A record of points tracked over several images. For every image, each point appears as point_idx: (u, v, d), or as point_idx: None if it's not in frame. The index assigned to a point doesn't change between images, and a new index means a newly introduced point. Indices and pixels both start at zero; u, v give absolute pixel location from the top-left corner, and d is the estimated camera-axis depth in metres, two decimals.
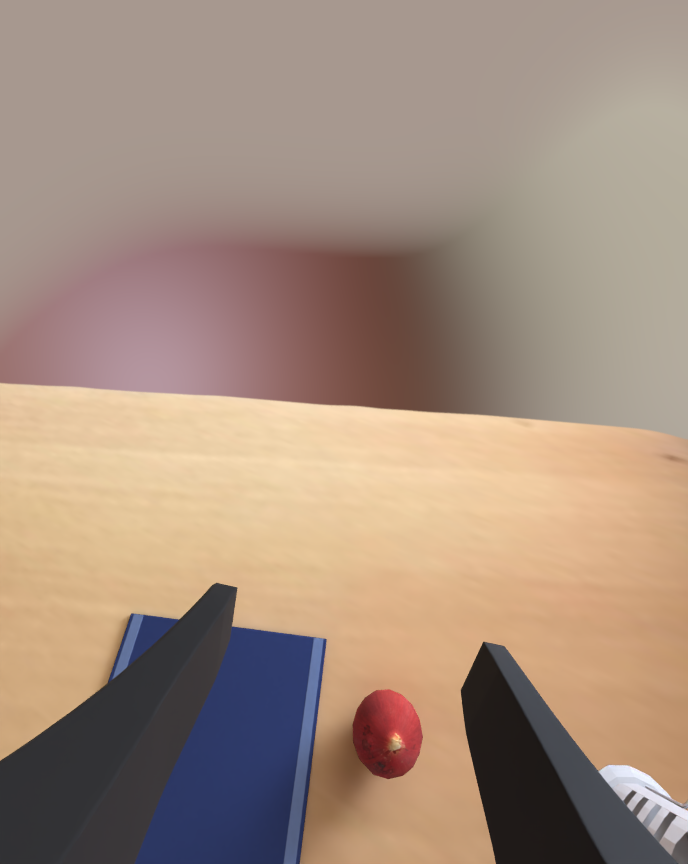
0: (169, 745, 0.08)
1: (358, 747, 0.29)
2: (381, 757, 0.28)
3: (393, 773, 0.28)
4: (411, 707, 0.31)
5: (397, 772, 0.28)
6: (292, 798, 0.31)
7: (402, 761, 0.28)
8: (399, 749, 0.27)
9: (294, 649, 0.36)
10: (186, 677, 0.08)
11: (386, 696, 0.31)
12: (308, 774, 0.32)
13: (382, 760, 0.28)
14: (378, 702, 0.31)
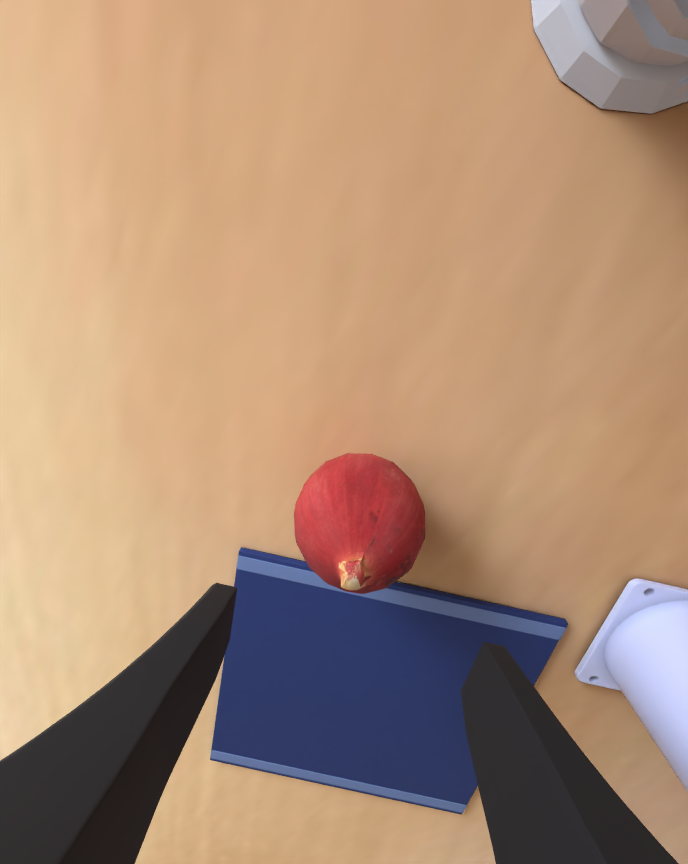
0: (169, 745, 0.08)
1: None
2: (377, 587, 0.14)
3: (411, 551, 0.14)
4: (319, 483, 0.15)
5: (411, 546, 0.14)
6: (433, 612, 0.22)
7: (390, 550, 0.13)
8: (361, 578, 0.12)
9: (253, 594, 0.22)
10: (186, 677, 0.08)
11: (296, 528, 0.15)
12: (411, 591, 0.22)
13: (383, 583, 0.14)
14: (301, 551, 0.15)
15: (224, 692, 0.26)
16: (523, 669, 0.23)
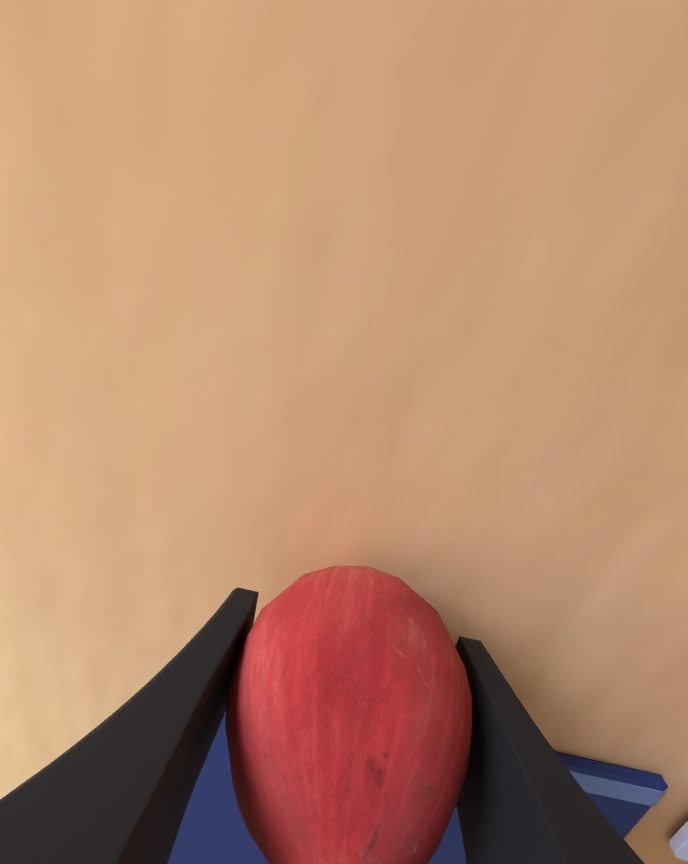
0: (197, 751, 0.08)
1: None
2: None
3: (453, 808, 0.07)
4: (268, 656, 0.08)
5: (452, 805, 0.07)
6: None
7: (412, 849, 0.06)
8: None
9: None
10: (215, 683, 0.08)
11: None
12: None
13: None
14: None
15: None
16: None
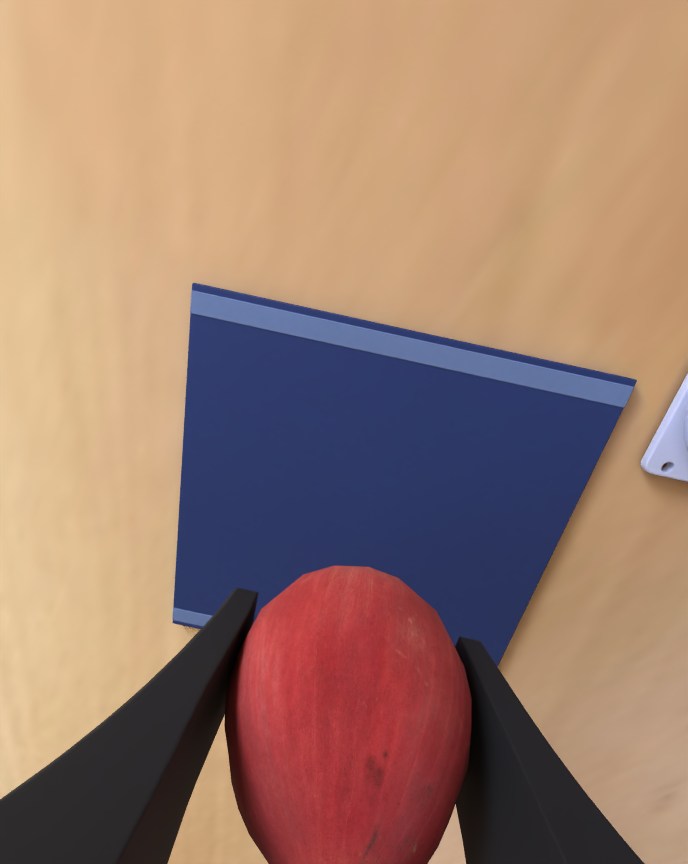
0: (197, 751, 0.08)
1: None
2: None
3: (452, 808, 0.07)
4: (268, 656, 0.08)
5: (452, 804, 0.07)
6: (454, 370, 0.16)
7: (412, 848, 0.06)
8: None
9: (214, 356, 0.17)
10: (215, 683, 0.08)
11: None
12: (424, 337, 0.16)
13: None
14: None
15: (185, 518, 0.20)
16: (573, 459, 0.17)
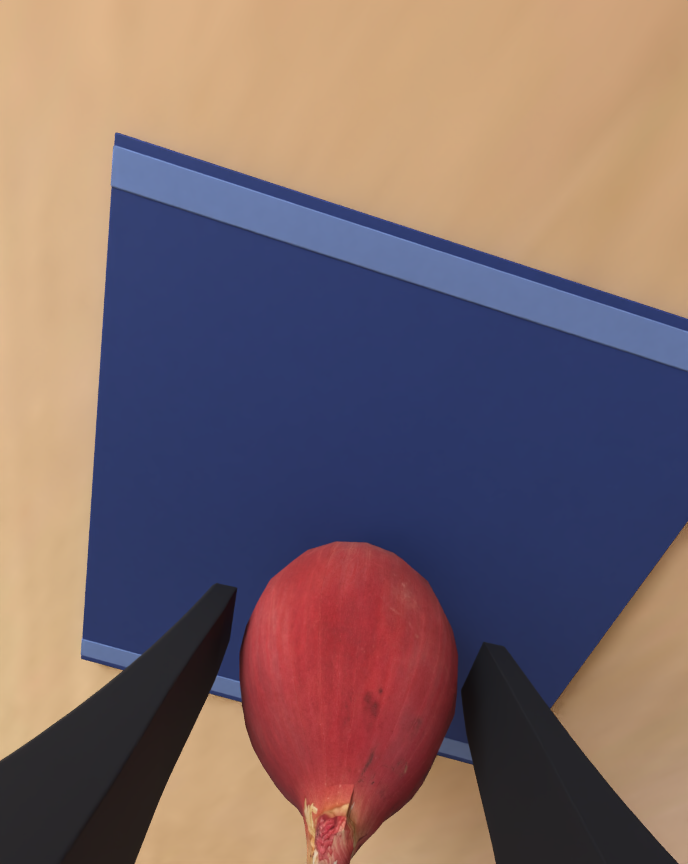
0: (169, 745, 0.08)
1: None
2: None
3: (439, 744, 0.08)
4: (278, 614, 0.09)
5: (439, 739, 0.08)
6: (527, 319, 0.10)
7: (403, 769, 0.07)
8: (345, 861, 0.06)
9: (148, 266, 0.11)
10: (186, 676, 0.08)
11: None
12: (487, 259, 0.10)
13: (390, 814, 0.08)
14: None
15: (100, 516, 0.14)
16: (683, 473, 0.12)
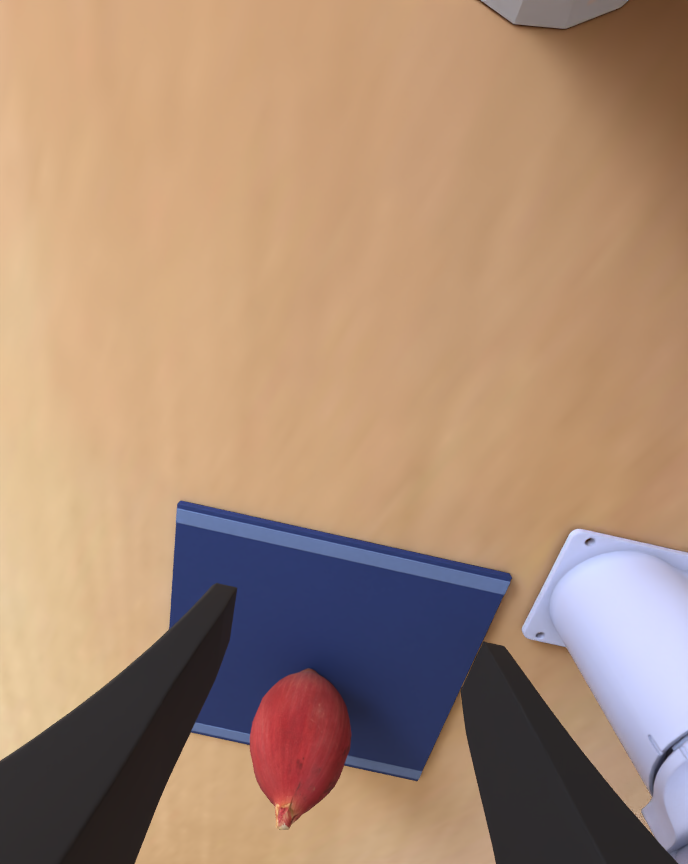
0: (169, 745, 0.08)
1: None
2: (307, 810, 0.19)
3: (333, 776, 0.19)
4: (264, 723, 0.20)
5: (332, 775, 0.19)
6: (376, 566, 0.22)
7: (313, 788, 0.18)
8: (288, 822, 0.17)
9: (194, 550, 0.22)
10: (186, 676, 0.08)
11: (251, 752, 0.21)
12: (352, 544, 0.21)
13: None
14: None
15: None
16: (470, 626, 0.23)
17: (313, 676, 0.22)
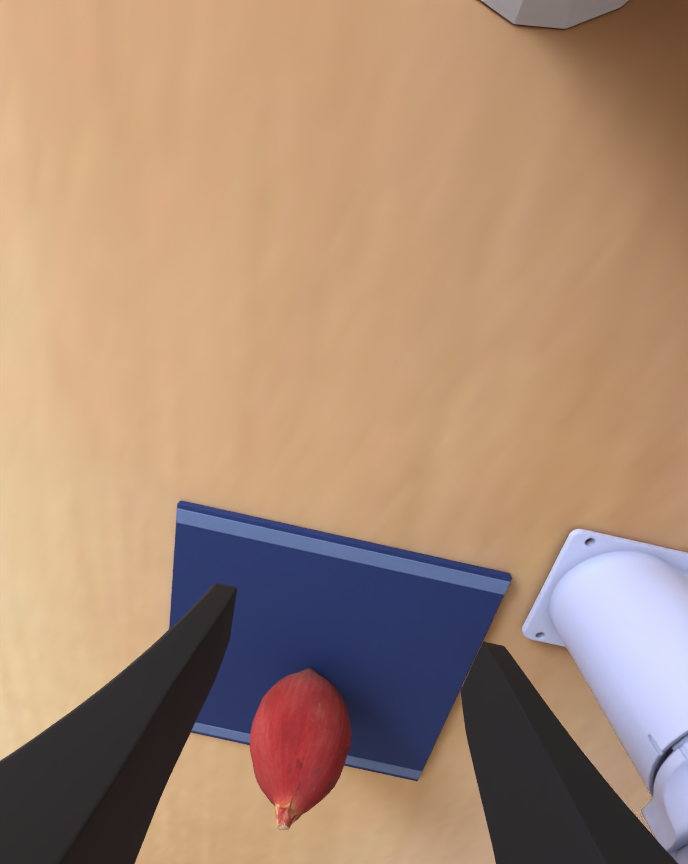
0: (169, 745, 0.08)
1: None
2: (307, 810, 0.19)
3: (333, 776, 0.19)
4: (264, 723, 0.20)
5: (332, 775, 0.19)
6: (376, 566, 0.22)
7: (313, 788, 0.18)
8: (288, 822, 0.17)
9: (194, 550, 0.22)
10: (186, 676, 0.08)
11: (251, 752, 0.21)
12: (352, 544, 0.21)
13: None
14: None
15: None
16: (470, 626, 0.23)
17: (313, 676, 0.22)
